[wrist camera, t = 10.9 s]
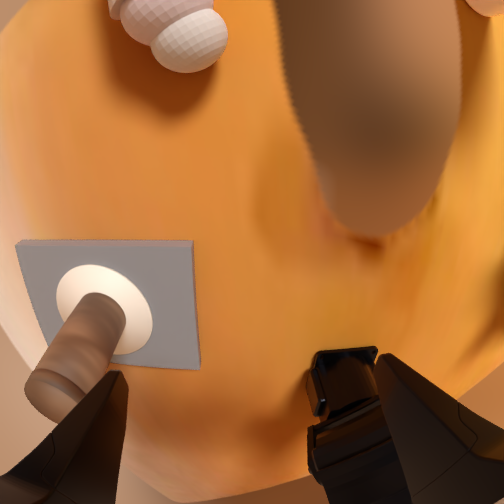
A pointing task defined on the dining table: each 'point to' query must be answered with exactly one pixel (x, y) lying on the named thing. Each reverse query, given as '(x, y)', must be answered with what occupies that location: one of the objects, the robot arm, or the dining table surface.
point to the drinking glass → (487, 7)
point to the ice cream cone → (174, 30)
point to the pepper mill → (76, 356)
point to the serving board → (120, 293)
